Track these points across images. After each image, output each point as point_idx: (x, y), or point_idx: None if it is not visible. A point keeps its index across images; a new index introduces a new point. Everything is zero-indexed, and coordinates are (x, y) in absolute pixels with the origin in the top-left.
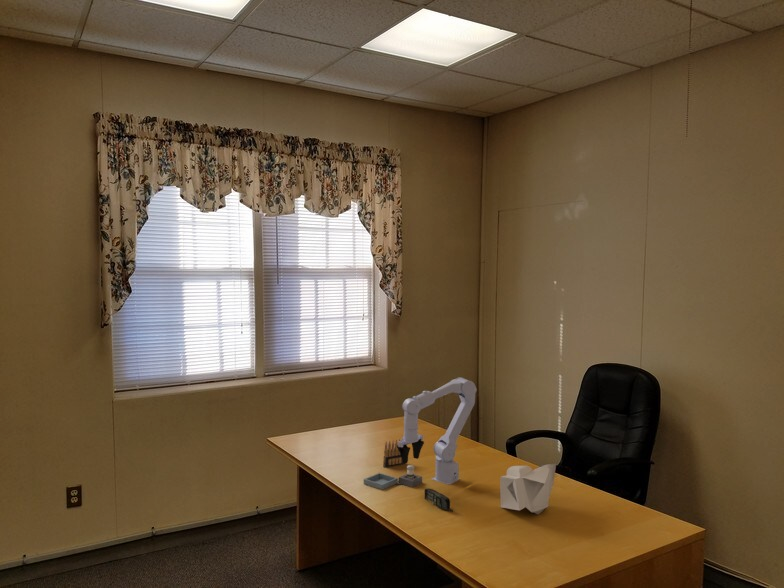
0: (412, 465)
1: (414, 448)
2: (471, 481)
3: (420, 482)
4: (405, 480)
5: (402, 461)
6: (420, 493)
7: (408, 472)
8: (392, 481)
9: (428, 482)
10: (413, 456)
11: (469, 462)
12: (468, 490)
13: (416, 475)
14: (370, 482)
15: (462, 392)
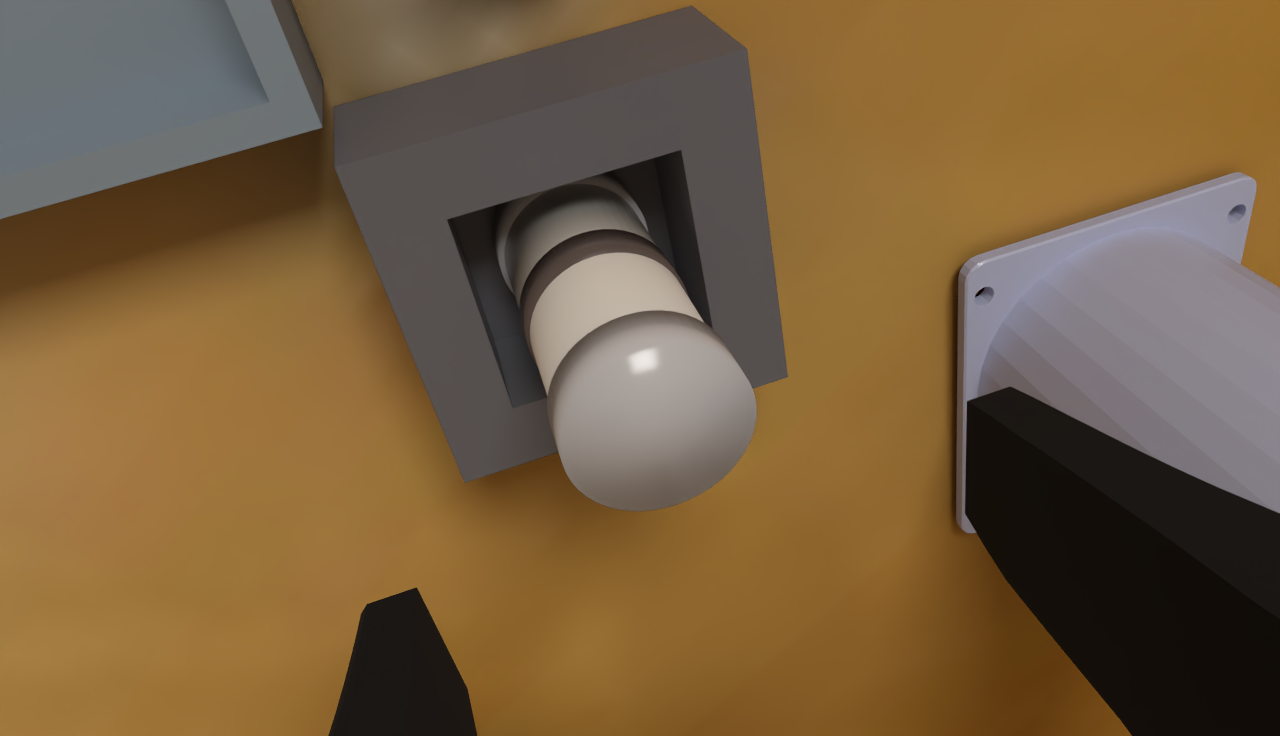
0: (744, 404)
1: (1219, 656)
2: None
3: None
4: (407, 335)
5: (359, 636)
6: (444, 589)
7: (542, 376)
8: (114, 176)
9: (857, 307)
10: (993, 418)
11: None
12: (968, 685)
13: (749, 281)
14: None
15: None
